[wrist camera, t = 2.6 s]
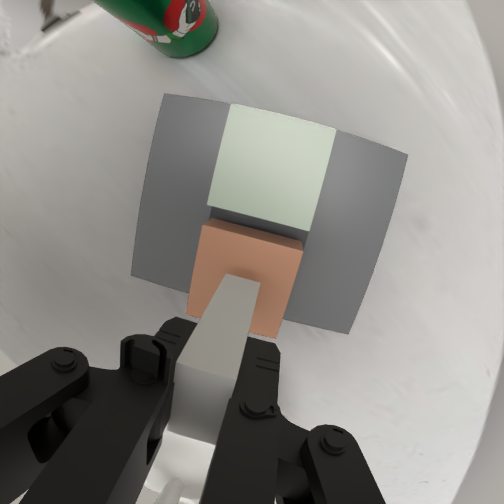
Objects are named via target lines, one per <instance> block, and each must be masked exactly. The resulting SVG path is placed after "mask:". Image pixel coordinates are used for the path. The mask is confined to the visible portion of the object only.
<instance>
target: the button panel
mask: <svg viewBox="0 0 504 504" xmlns="http://www.w3.org/2000/svg"><path fill="white" fill-rule="evenodd" d="M230 105H231V104H229V103H224V102H218V101H212V100H206V99H200V98H194V97H187V96H180V95H172V94H164V96H163V99H162V103H161V107H160V111H159V115H158V119H157V123H156V128H155V132H154V136H153V141H152V146H151V150H150V155H149V160H148V165H147V170H146V175H145V180H144V186H143V192H142V197H141V203H140V210H139V216H138V223H137V230H136V237H135V244H134V252H133V261H132V270H131V276H134V277H137V278H140V279H143V280H146V281H150V282H153V283H156V284H159V285H163V286H166V287H169V288H172V289H176V290H179V291H182V292H186V293H189V292H190V286H191V281H192V275H193V270H194V265H195V260H196V255H197V250H198V245H199V240H200V235H201V230H202V225H203V224H204V223H206V222H207V221H208V220H210V219H211V218H214V219H218V220H222V221H226V222H230V223H234V224H237V225H241V226H245V227H249V228H253V229H257V230H260V231H264V232H268V233H272V234H276V235H279V236H283V237H287V238H291V239H294V240H298V241H302V246H303V254H302V258H301V261H300V264H299V268H298V271H297V274H296V277H295V281H294V284H293V287H292V290H291V293H290V297H289V300H288V303H287V306H286V309H285V312H284V315H283V318H282V319H285V320H289V321H293V322H297V323H301V324H305V325H309V326H313V327H318V328H322V329H326V330H331V331H335V332H339V333H344V334H349V332H350V329H351V327H352V325H353V322H354V320H355V317H356V315H357V312H358V310H359V307H360V305H361V302H362V300H363V297H364V295H365V292H366V289H367V287H368V284H369V281H370V279H371V276H372V273H373V270H374V268H375V265H376V262H377V259H378V256H379V253H380V250H381V247H382V244H383V241H384V238H385V235H386V232H387V229H388V226H389V222H390V219H391V216H392V213H393V209H394V206H395V202H396V199H397V195H398V192H399V188H400V184H401V181H402V177H403V173H404V169H405V165H406V161H407V157H408V154H405V153H402V152H400V151H397V150H395V149H392V148H389V147H386V146H384V145H381V144H378V143H375V142H372V141H369V140H367V139H364V138H361V137H358V136H355V135H351V134H348V133H345V132H342V131H339V130H336V134H335V138H334V142H333V146H332V150H331V154H330V158H329V162H328V165H327V169H326V173H325V177H324V180H323V184H322V188H321V191H320V195H319V199H318V202H317V206H316V210H315V213H314V217H313V220H312V224H311V227H310V231H306V230H302V229H298V228H295V227H291V226H287V225H284V224H280V223H276V222H272V221H268V220H265V219H261V218H257V217H253V216H249V215H245V214H242V213H238V212H234V211H230V210H226V209H222V208H218V207H214V206H210V205H207V202H208V197H209V192H210V188H211V183H212V179H213V175H214V170H215V166H216V162H217V158H218V153H219V149H220V145H221V141H222V137H223V133H224V129H225V125H226V121H227V117H228V113H229V109H230Z"/></svg>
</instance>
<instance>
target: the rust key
mask: <svg viewBox="0 0 504 504" xmlns="http://www.w3.org/2000/svg"><path fill="white" fill-rule="evenodd" d="M302 254H303V246H302V241H298V240H294V239H291V238H287V237H283V236H279V235H276V234H272V233H268V232H264V231H260V230H257V229H253V228H249V227H245V226H241V225H237V224H234V223H230V222H226V221H222V220H218V219H214V218H211V219H210V220H208V221H207V222H206V223H204V224H203V225H202V230H201V235H200V240H199V245H198V250H197V255H196V260H195V265H194V270H193V275H192V281H191V286H190V292H189V297H188V303H187V309H186V314H187V315H190V316H194V317H197V318H200V319H201V317H202V315H203V313H204V311H205V310H206V308H207V306H208V304H209V303H210V301H211V299H212V297H213V295H214V294H215V292H216V290H217V288H218V287H219V285H220V283H221V281H222V280H223V278H224V276H225V274H226V273H227V274H230V275H234V276H238V277H241V278H245V279H249V280H252V281H256V282H260V287H259V291H258V295H257V299H256V303H255V307H254V312H253V316H252V320H251V324H250V328H249V332H251V333H255V334H258V335H262V336H266V337H270V338H274V339H276V337H277V334H278V331H279V328H280V325H281V322H282V318H283V315H284V312H285V309H286V306H287V303H288V300H289V297H290V293H291V290H292V287H293V284H294V281H295V277H296V274H297V271H298V268H299V264H300V261H301V258H302Z"/></svg>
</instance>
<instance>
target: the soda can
mask: <svg viewBox="0 0 504 504" xmlns="http://www.w3.org/2000/svg"><path fill="white" fill-rule="evenodd" d="M92 1H93V2H94V3H96V4H97V5H99V6H100V7H102V8H103V9H104V10H106V11H107V12H109V13H110V14H111V15H113V16H114V17H116V18H117V19H118V20H120V21H121V22H122V23H124V24H125V25H126V26H128V27H129V28H130V29H132V30H133V31H134V32H136V33H137V34H138V35H140V36H141V37H142V38H143V39H145V40H146V41H147V42H149V43H150V44H151V45H152V46H154V47H155V48H156V49H157V50H159V51H160V52H161V53H163V54H165V55H167V56H171V57H185V56H189V55H192V54H194V53H197V52H199V51H200V50H202V49H203V48H204V47H206V46H207V45H208V44H209V43H210V42H211V40H212V39H213V37H214V35H215V33H216V30H217V25H218V23H217V17H216V15H215V13H214V11H213V9H212V7H211V5H210V3H209V1H208V0H92Z"/></svg>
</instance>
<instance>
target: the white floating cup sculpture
mask: <svg viewBox="0 0 504 504" xmlns="http://www.w3.org/2000/svg"><path fill="white" fill-rule="evenodd" d="M167 427H168V423H167V426H166V428H165V430H164V432H163V438H162V444H161V447H160V449H159V451H158V453H157V456H156V458H155V460H154V462H153V465H152V467H151V469H150V471H149V474H148V476H147V478H146V480H145V483H144V485H145V486H146V487H148V488H149V489H150V490H154V491H156V492H158V493H160V495H159V497H158V499H157V500H156V501H155V503H154V504H178V502H182V503H186V504H199V501H200V497H201V494H202V491H203V487H204V484H205V480H206V477H207V473H208V469H209V466H210V462H211V459H212V456H213V452H214V449H215V446H216V445H213V444H209V443H206V442H202V441H199V440H195V439H192V438H189V437H186V436H183V435H179V434H176V433H173V432H170V431H167Z"/></svg>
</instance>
